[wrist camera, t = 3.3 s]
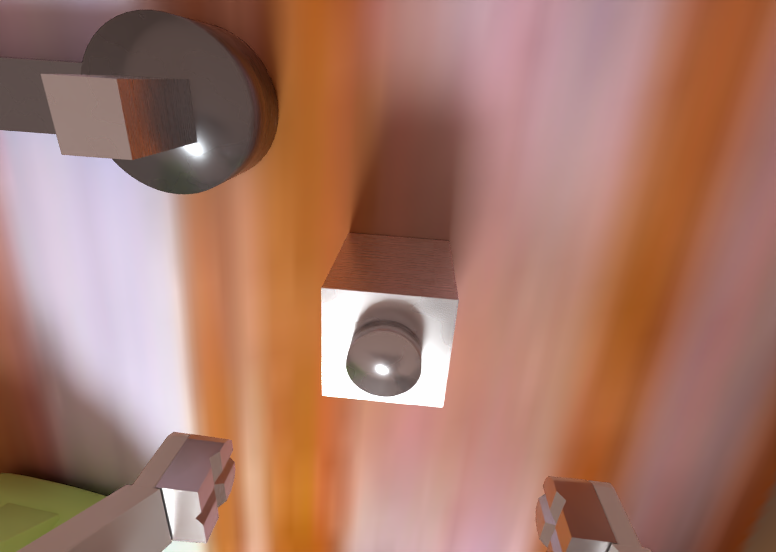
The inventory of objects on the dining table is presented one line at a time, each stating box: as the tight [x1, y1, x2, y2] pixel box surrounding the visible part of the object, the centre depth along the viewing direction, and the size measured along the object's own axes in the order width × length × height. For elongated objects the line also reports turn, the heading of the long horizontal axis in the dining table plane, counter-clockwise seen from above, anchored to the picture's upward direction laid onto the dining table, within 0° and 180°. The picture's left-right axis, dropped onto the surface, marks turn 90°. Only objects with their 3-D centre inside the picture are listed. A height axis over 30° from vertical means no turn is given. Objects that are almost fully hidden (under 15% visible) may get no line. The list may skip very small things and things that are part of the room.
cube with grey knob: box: [321, 233, 459, 407], centre depth 19 cm, size 5×5×7 cm
